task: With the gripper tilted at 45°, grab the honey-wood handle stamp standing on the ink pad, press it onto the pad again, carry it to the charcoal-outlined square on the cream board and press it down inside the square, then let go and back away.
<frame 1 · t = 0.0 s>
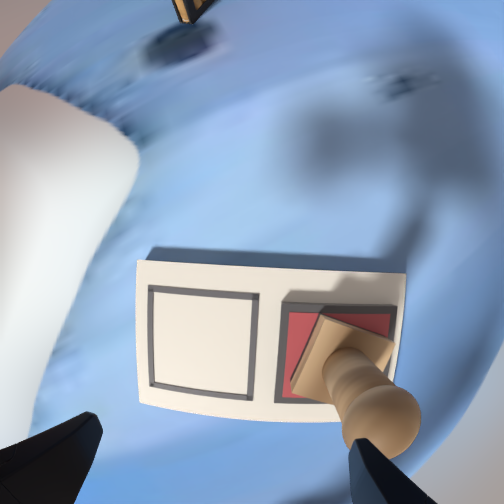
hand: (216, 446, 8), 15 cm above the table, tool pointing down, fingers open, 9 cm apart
stamping board: (267, 346, 23), on the table
ammunition clip: (207, 1, 26), on the table
ink pad: (334, 353, 21), resting on stamping board
stamp: (337, 357, 20), point 3 cm above the table, touching ink pad
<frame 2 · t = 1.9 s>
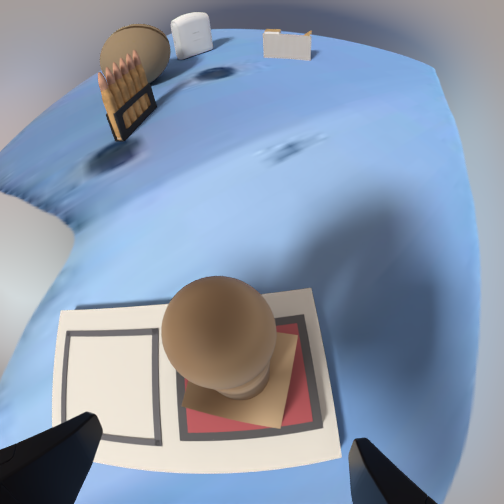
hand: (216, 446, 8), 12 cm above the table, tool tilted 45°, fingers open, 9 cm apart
brown grooved ball: (142, 85, 52), on the table
stamping board: (176, 389, 19), on the table
ammunition clip: (137, 123, 41), on the table
ink pad: (245, 381, 18), resting on stamping board
model: (287, 59, 56), on the table
stamp: (244, 379, 17), point 3 cm above the table, touching ink pad
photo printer: (195, 54, 61), on the table
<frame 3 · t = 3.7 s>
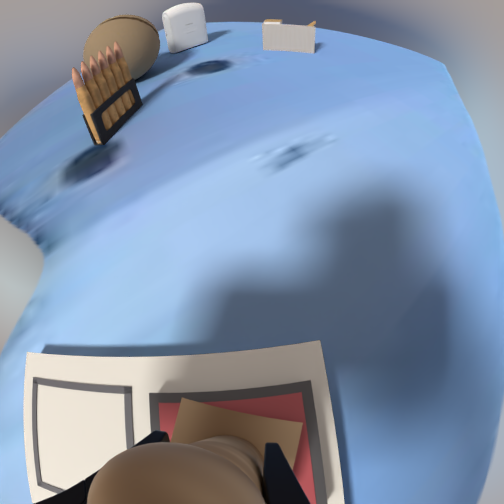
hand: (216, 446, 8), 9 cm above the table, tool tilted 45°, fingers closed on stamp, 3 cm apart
brown grooved ball: (130, 81, 46), on the table
stamping board: (156, 453, 14), on the table
ammunition clip: (120, 124, 36), on the table
ink pad: (236, 456, 13), resting on stamping board
model: (289, 51, 50), on the table
stamp: (234, 459, 12), point 3 cm above the table, touching gripper, ink pad
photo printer: (188, 48, 55), on the table
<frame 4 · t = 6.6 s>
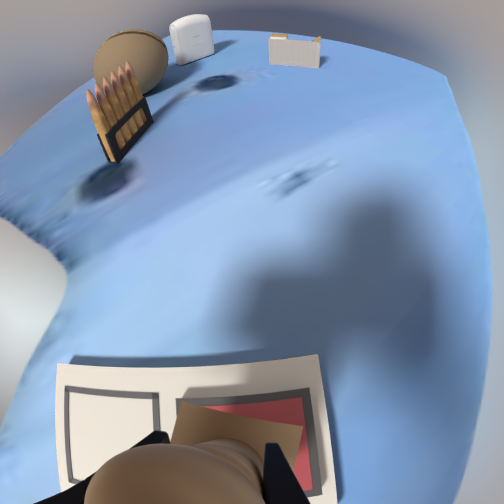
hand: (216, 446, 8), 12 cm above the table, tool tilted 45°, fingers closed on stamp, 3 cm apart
brown grooved ball: (139, 94, 49), on the table
stamping board: (178, 449, 17), on the table
ammunition clip: (132, 141, 39), on the table
ink pad: (248, 449, 16), resting on stamping board
model: (294, 66, 53), on the table
stamp: (233, 463, 12), point 7 cm above the table, touching gripper
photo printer: (195, 59, 58), on the table
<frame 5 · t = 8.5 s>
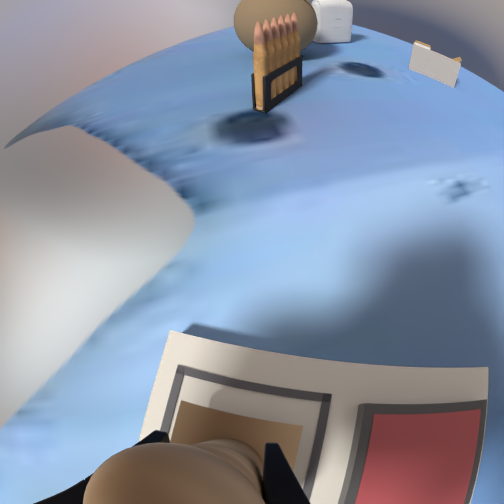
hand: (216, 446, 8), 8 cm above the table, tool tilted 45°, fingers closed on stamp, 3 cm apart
brown grooved ball: (276, 56, 45), on the table
stamping board: (327, 464, 13), on the table
ammunition clip: (279, 97, 35), on the table
ink pad: (415, 466, 11), resting on stamping board
model: (430, 78, 44), on the table
stamp: (233, 463, 12), point 2 cm above the table, touching gripper
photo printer: (331, 42, 53), on the table
when the fingers open (7 cm above the table, at t = 9.8 s): stamp stays where it is, resting on stamping board.
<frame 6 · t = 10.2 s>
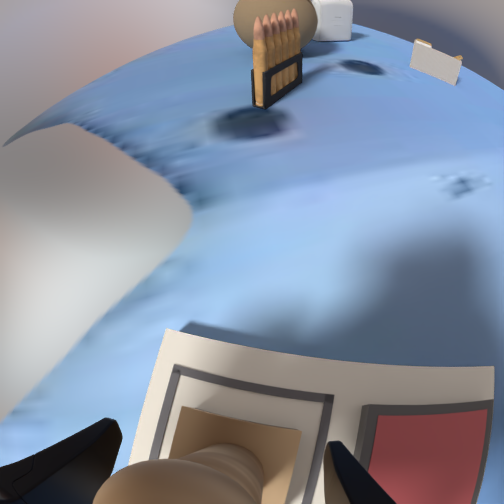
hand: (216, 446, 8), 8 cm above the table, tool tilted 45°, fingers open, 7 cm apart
brown grooved ball: (276, 54, 45), on the table
stamping board: (329, 468, 12), on the table
ammunition clip: (279, 94, 35), on the table
ink pad: (420, 469, 10), resting on stamping board
model: (431, 76, 43), on the table
stamp: (233, 466, 12), point 1 cm above the table, touching stamping board
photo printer: (331, 40, 52), on the table
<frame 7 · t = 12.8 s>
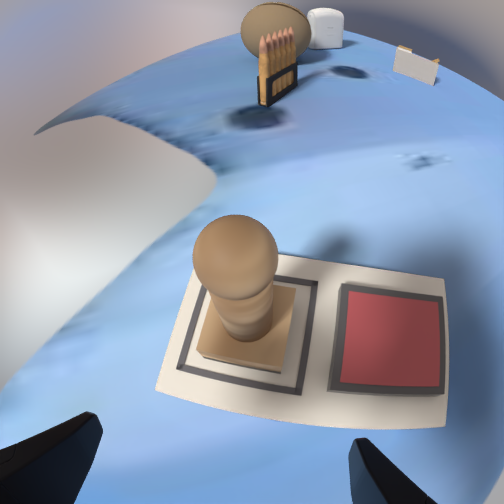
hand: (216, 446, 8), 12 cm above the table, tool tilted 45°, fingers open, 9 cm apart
brown grooved ball: (276, 61, 54), on the table
stamping board: (319, 342, 21), on the table
ammunition clip: (279, 95, 44), on the table
ink pad: (389, 344, 19), resting on stamping board
model: (412, 78, 52), on the table
stamp: (250, 331, 21), point 1 cm above the table, touching stamping board
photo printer: (324, 48, 61), on the table
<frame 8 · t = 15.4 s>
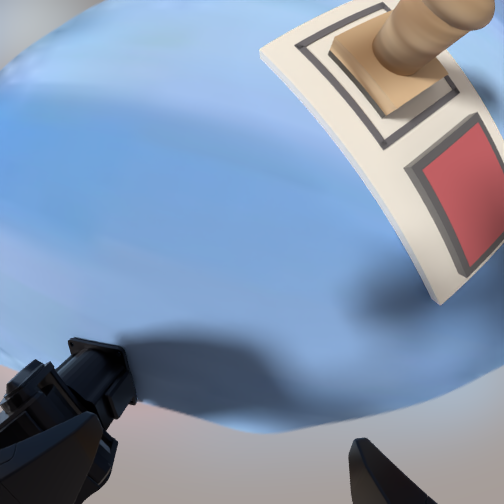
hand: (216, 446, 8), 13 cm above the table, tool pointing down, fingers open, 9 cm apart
stamping board: (423, 131, 17), on the table
ink pad: (469, 192, 16), resting on stamping board
stamp: (382, 68, 15), point 1 cm above the table, touching stamping board
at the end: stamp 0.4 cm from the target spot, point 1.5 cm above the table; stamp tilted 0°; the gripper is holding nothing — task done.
